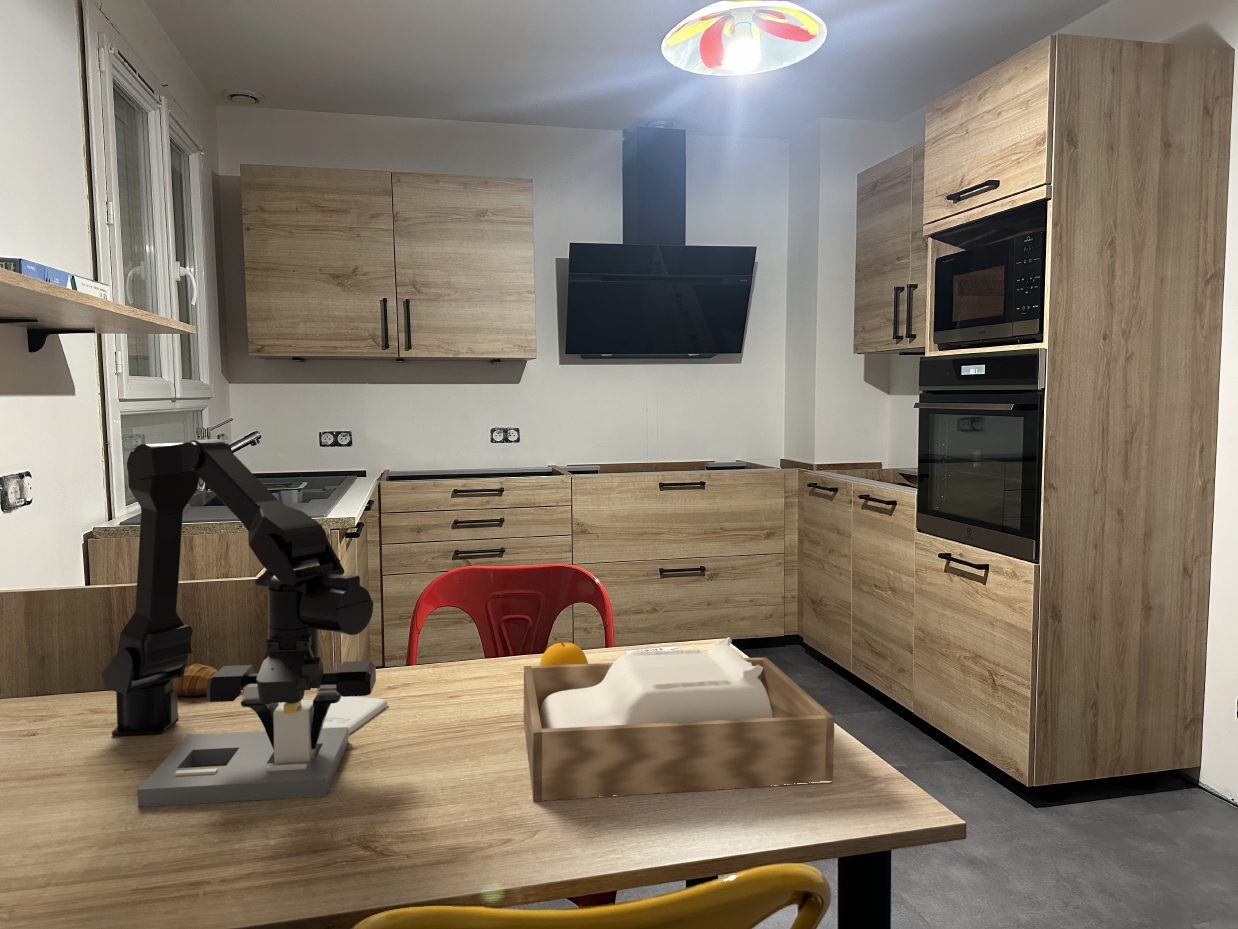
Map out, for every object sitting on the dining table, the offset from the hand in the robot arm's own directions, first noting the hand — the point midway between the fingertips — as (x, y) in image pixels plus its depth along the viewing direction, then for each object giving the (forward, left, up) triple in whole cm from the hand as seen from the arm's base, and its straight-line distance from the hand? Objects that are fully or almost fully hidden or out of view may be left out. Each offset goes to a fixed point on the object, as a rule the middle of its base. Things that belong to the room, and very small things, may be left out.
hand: (295, 749), depth 103 cm
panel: (-5, 0, -2) cm, 6 cm away
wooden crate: (+47, 0, -2) cm, 47 cm away
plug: (0, 0, -2) cm, 2 cm away
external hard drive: (+3, +17, -3) cm, 18 cm away
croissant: (-21, +31, -3) cm, 38 cm away
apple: (+36, +26, -3) cm, 44 cm away
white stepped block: (+45, -1, -3) cm, 45 cm away
